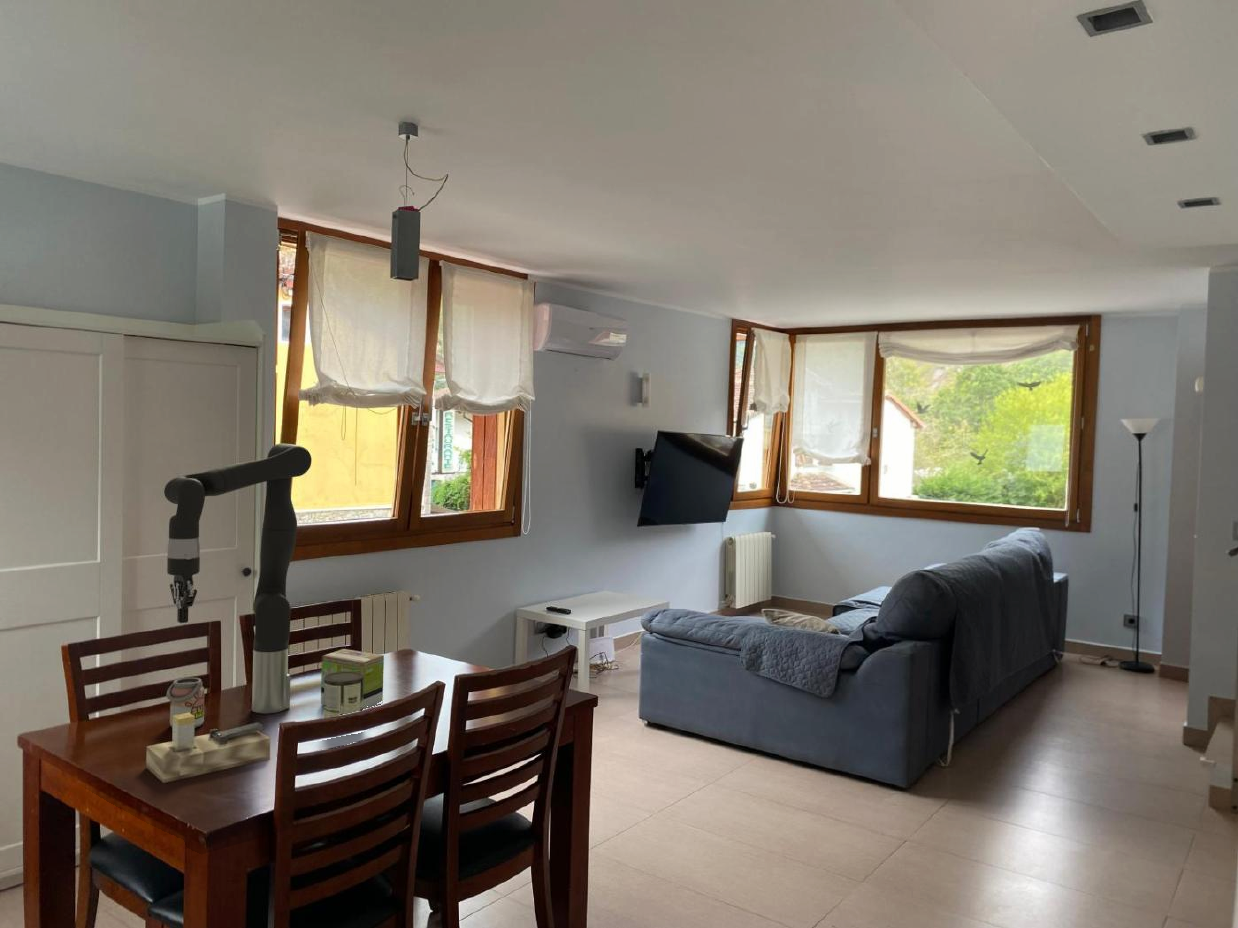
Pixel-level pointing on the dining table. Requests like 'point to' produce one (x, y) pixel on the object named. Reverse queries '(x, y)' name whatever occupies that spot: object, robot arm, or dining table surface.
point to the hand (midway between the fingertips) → (182, 622)
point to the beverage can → (187, 699)
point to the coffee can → (343, 693)
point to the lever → (238, 731)
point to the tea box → (358, 663)
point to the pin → (183, 732)
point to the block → (206, 755)
